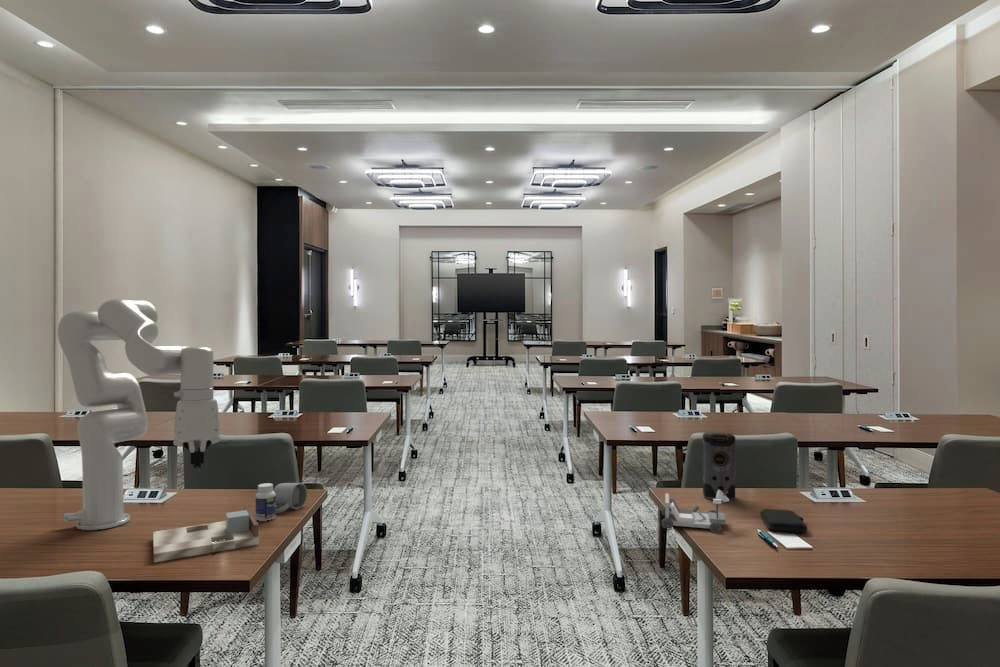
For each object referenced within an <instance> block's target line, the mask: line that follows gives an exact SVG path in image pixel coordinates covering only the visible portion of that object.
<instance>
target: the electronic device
mask: <svg viewBox="0 0 1000 667" xmlns="http://www.w3.org/2000/svg"><path fill="white" fill-rule="evenodd" d="M718 489H719V490H721V491H722V492H723V493H724V494H725V493H726V492H727V491H728V493H727V494H726V497H727V498H728V499H729V501H734V500H735V499H736V436H735V435H734V434H732V433H720V432H719V433H718V432H716V433H715V432H704V433H703V434H702V495H703V497H704V499H706V500H713V499H716V495H717V492H718Z"/></svg>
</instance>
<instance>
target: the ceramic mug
mask: <svg viewBox="0 0 1000 667" xmlns="http://www.w3.org/2000/svg"><path fill="white" fill-rule="evenodd" d="M272 491H274V492H275V494H276V507H278V508H276V513H278V514H280V513H283V512H285V511H286V510H288V509H291V510H299V508H300V509H301V507H302V508H303V507H304V506H305V504H306V501H307V497H308V490H307V487H306V485H305V484H304V483H303V482H283V483H278V484H277V485H275V487H273V490H272Z"/></svg>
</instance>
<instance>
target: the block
mask: <svg viewBox="0 0 1000 667" xmlns="http://www.w3.org/2000/svg"><path fill="white" fill-rule="evenodd" d="M225 521H226V529H227V532H228V534H229V533H236V532H242V531H248V530H249V514H248V512H247V510H245V509H244V510H237V511H230V512H226V513H225Z"/></svg>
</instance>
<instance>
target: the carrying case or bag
mask: <svg viewBox="0 0 1000 667" xmlns="http://www.w3.org/2000/svg"><path fill="white" fill-rule="evenodd" d="M759 515H760V518H761V519H762V520H763V522H764V524H765V526H766V527H767V528H768V530H769V531H770V532H771V533H774V534H775V533H776V534H790V535H804V534H805V533H806V532H807V530H808V527H807V525H806V524H805V523H804V518H803V517H802V516H800V515H799V514H798V513H797V514H796V512H795V511H793V510H787V509H772V508H771V509H770V508H764V509H762V510H761V512H760V513H759Z"/></svg>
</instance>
